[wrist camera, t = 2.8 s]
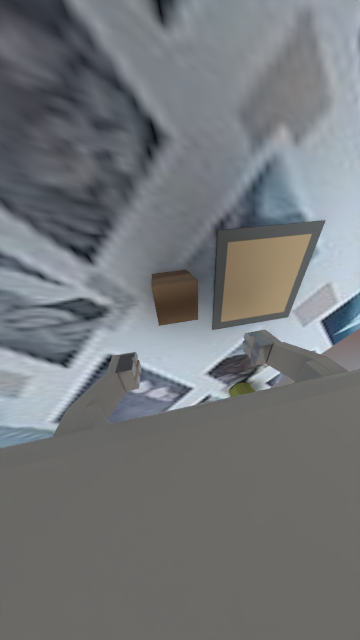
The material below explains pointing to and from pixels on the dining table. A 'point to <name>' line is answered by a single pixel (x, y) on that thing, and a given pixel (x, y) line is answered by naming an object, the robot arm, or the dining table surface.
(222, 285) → the coaster mat
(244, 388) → the plant pot
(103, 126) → the dining table surface
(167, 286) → the walnut block
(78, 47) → the dining table surface
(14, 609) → the robot arm
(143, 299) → the dining table surface
